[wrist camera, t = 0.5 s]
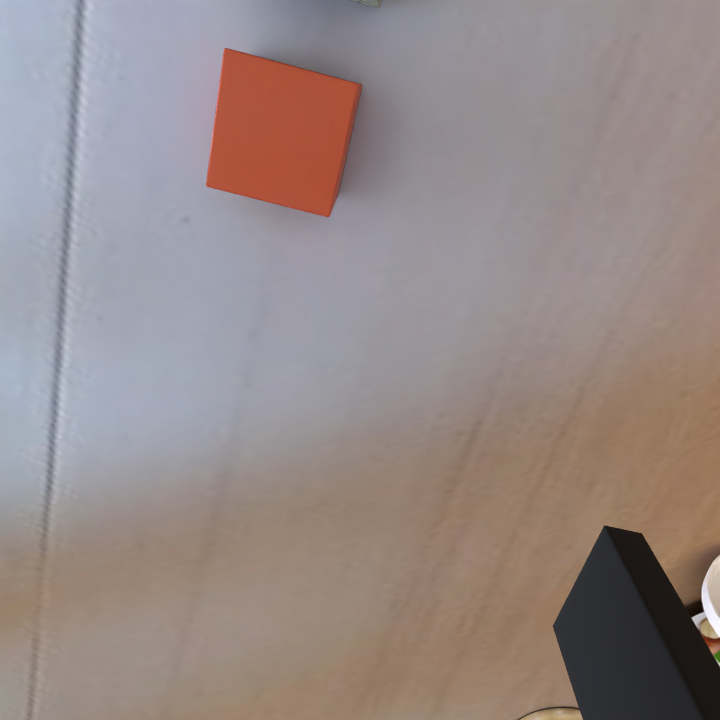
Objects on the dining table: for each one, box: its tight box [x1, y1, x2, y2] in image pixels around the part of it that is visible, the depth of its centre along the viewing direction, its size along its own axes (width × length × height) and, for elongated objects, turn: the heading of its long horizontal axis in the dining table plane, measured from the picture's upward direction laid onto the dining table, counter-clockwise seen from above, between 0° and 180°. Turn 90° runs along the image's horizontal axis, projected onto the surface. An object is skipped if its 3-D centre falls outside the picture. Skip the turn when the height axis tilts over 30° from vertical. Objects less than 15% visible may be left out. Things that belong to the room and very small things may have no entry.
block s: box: [206, 48, 362, 217], centre depth 25 cm, size 5×5×5 cm
